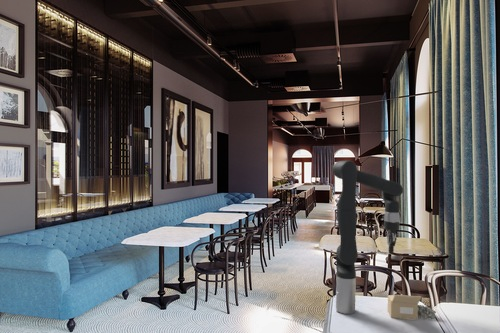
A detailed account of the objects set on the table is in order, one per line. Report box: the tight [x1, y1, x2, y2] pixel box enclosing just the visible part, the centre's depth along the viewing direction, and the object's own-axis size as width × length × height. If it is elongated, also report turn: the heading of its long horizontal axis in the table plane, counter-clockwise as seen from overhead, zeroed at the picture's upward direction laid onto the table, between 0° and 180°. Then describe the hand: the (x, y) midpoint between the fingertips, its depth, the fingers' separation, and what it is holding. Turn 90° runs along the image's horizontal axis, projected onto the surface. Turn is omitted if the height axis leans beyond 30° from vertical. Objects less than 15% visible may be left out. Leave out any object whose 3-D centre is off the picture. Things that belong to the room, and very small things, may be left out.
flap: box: [392, 294, 422, 305], centre depth 174 cm, size 12×8×1 cm
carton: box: [387, 294, 419, 321], centre depth 181 cm, size 12×9×8 cm
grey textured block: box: [417, 304, 437, 320], centre depth 182 cm, size 11×8×4 cm
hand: (391, 253), depth 195 cm, fingers closed
